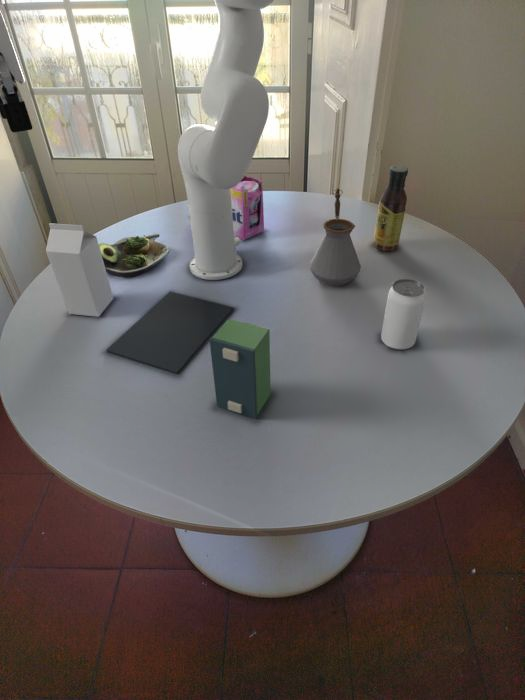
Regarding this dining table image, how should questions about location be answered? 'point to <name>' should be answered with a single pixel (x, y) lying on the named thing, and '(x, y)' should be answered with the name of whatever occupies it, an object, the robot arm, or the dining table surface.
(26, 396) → the dining table surface
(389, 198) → the sauce bottle
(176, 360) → the placemat
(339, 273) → the coffee pot
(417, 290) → the can
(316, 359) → the dining table surface
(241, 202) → the gum box
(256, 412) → the box
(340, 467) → the dining table surface
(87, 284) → the milk carton
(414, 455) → the dining table surface
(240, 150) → the robot arm
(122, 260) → the salad plate
